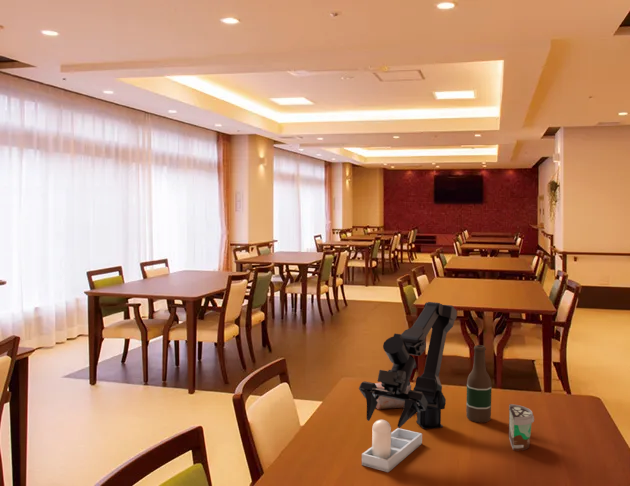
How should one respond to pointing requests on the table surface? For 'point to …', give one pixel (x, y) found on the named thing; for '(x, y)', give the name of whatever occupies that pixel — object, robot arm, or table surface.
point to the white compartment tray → (394, 450)
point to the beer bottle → (479, 389)
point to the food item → (389, 400)
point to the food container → (520, 426)
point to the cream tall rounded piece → (381, 439)
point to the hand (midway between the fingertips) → (382, 423)
